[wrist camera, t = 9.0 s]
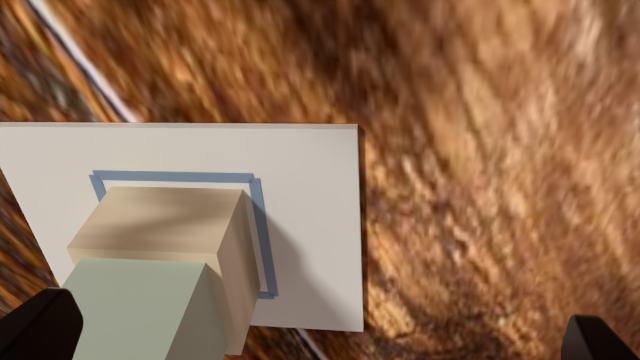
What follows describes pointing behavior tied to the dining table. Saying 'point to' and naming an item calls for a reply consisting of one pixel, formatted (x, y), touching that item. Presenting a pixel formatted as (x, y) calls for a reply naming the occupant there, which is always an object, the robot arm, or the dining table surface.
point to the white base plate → (212, 172)
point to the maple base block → (181, 242)
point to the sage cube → (146, 310)
